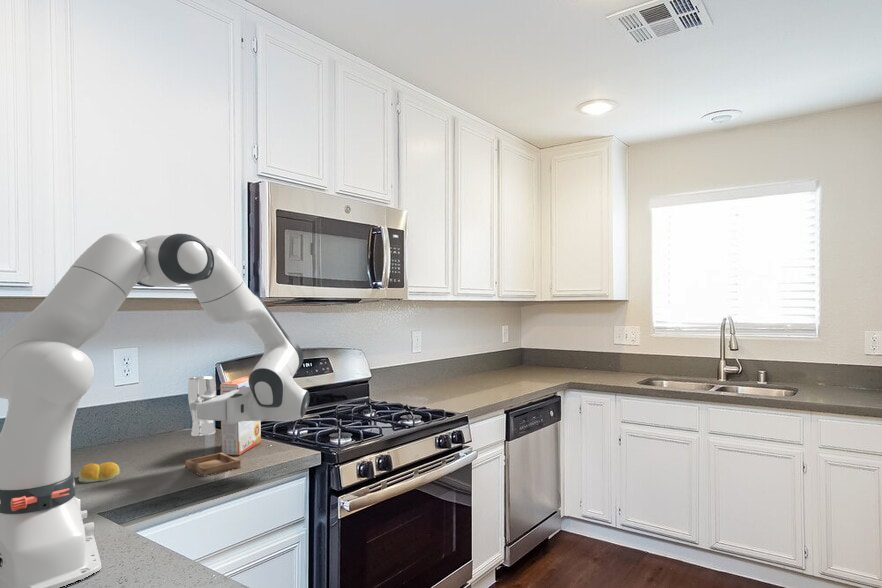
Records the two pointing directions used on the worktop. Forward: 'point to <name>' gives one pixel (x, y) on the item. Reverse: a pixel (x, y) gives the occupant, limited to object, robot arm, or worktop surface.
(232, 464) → the tray
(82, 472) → the bread roll
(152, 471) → the worktop surface
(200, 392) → the beer glass
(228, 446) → the cracker box
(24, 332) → the robot arm
